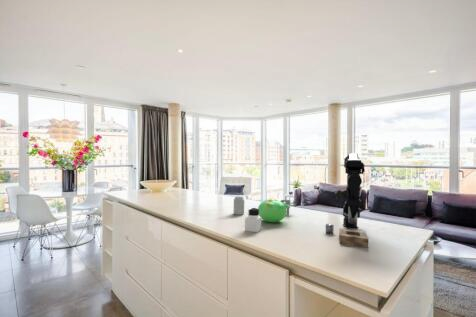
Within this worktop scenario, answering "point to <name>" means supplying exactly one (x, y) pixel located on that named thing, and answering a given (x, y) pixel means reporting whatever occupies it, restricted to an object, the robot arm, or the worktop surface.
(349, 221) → the tall pin
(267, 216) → the green rounded lump
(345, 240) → the hole block
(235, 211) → the can
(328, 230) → the short pin
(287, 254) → the worktop surface
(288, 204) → the mechanical component
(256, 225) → the medicine bottle
